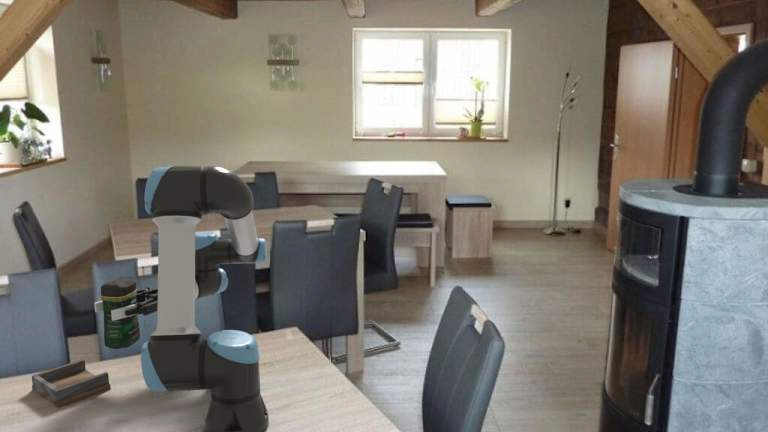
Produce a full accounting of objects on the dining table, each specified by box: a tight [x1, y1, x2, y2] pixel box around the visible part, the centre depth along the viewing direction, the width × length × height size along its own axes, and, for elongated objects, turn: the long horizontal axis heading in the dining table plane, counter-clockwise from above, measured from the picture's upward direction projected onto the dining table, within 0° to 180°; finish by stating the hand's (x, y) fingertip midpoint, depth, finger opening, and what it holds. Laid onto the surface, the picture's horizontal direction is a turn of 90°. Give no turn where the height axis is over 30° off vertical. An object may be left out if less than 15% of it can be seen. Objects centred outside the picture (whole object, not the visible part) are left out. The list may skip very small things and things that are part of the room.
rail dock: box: [31, 358, 112, 409], centre depth 176 cm, size 16×14×4 cm
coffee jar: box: [100, 275, 141, 350], centre depth 177 cm, size 10×8×19 cm
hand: (103, 311), depth 173 cm, fingers closed on coffee jar, 9 cm apart
